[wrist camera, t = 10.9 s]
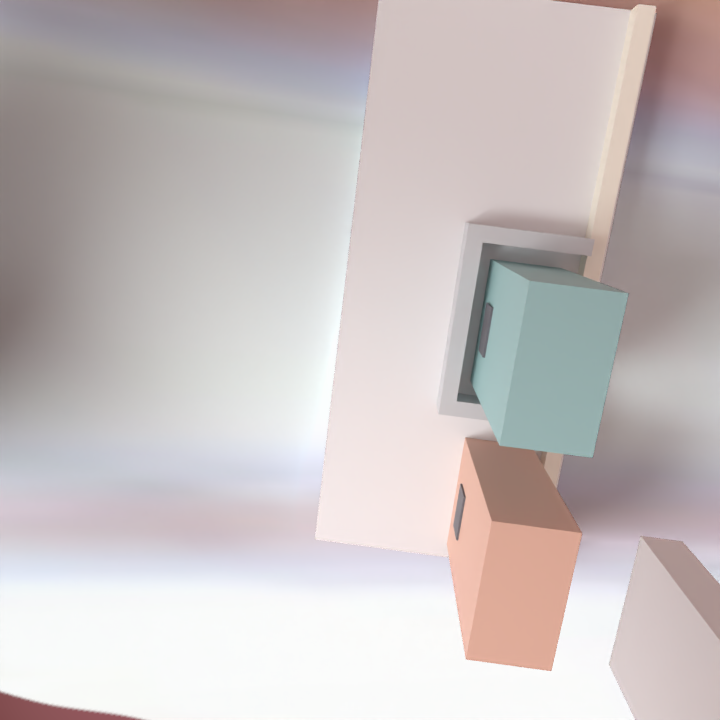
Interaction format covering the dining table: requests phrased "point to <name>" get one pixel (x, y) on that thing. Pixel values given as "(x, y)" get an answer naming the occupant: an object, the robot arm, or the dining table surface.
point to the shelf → (463, 231)
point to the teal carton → (546, 356)
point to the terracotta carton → (510, 556)
